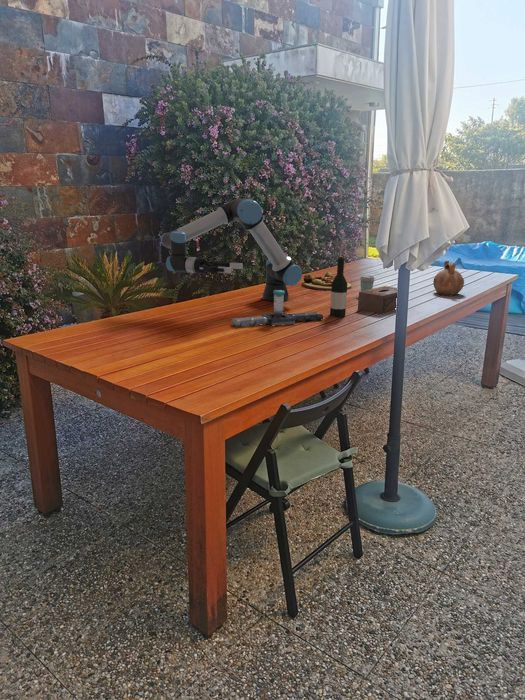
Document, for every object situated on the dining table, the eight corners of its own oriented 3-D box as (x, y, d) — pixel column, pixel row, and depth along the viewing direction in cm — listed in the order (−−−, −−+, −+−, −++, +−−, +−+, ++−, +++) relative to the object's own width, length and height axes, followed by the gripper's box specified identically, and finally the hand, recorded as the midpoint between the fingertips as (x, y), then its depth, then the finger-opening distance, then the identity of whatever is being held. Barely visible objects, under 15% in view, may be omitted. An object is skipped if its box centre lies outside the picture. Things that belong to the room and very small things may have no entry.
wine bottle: (333, 317, 282) (336, 257, 273) (326, 313, 290) (330, 255, 281) (348, 317, 284) (352, 257, 275) (341, 313, 292) (345, 255, 283)
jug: (466, 297, 340) (471, 264, 334) (436, 296, 340) (440, 263, 334) (457, 291, 358) (461, 259, 352) (428, 290, 358) (432, 259, 352)
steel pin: (270, 321, 272) (271, 290, 267) (280, 320, 274) (281, 289, 270) (275, 324, 267) (276, 292, 263) (285, 323, 269) (286, 291, 265)
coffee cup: (373, 298, 331) (374, 278, 327) (358, 297, 332) (359, 277, 329) (373, 295, 339) (374, 275, 335) (359, 294, 340) (360, 274, 337)
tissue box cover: (380, 314, 292) (382, 296, 289) (357, 310, 301) (359, 291, 298) (406, 307, 310) (408, 289, 307) (383, 303, 319) (385, 286, 316)
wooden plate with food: (296, 288, 356) (297, 275, 353) (308, 280, 385) (309, 268, 382) (346, 293, 347) (347, 280, 344) (354, 284, 376) (356, 272, 373)
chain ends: (228, 323, 267) (229, 317, 266) (314, 315, 285) (314, 310, 284) (238, 329, 256) (238, 323, 255) (325, 321, 274) (326, 315, 273)
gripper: (208, 269, 286) (246, 272, 279) (184, 277, 263) (225, 280, 256) (207, 254, 283) (246, 257, 276) (184, 261, 261) (225, 264, 254)
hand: (236, 268), depth 266 cm, fingers open, 13 cm apart
